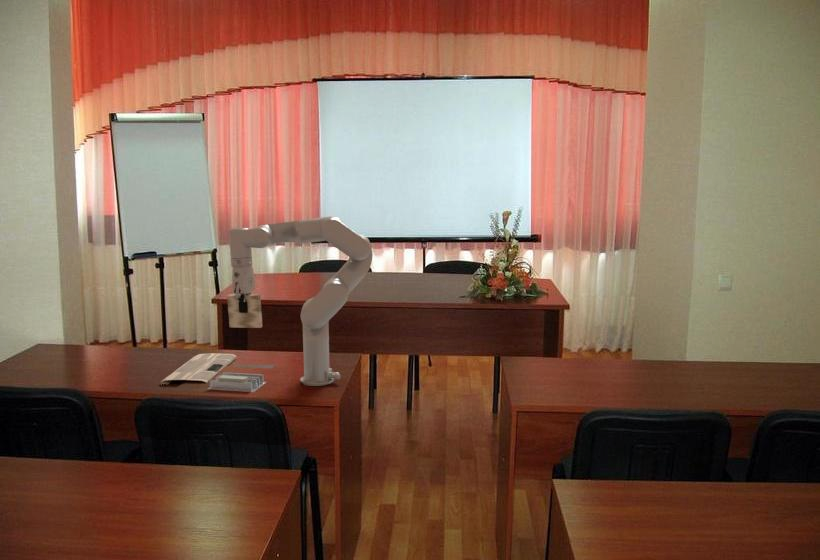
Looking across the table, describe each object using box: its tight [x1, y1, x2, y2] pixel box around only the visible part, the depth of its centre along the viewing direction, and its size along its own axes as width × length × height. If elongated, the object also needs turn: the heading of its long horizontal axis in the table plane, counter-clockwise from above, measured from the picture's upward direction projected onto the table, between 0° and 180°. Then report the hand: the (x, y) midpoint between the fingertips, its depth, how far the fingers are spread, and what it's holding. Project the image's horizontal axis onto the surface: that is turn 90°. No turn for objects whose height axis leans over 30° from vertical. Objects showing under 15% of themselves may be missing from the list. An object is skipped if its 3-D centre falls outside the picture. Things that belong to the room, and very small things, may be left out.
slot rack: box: [207, 372, 268, 393], centre depth 274 cm, size 18×12×4 cm, turn 78°
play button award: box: [233, 363, 275, 370], centre depth 292 cm, size 16×2×20 cm
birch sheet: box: [226, 293, 263, 329], centre depth 275 cm, size 12×2×12 cm, turn 79°
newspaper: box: [159, 352, 237, 386], centre depth 297 cm, size 37×19×3 cm, turn 176°
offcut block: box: [219, 374, 248, 382], centre depth 271 cm, size 10×3×4 cm, turn 78°
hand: (245, 311), depth 275 cm, fingers closed on birch sheet, 2 cm apart
